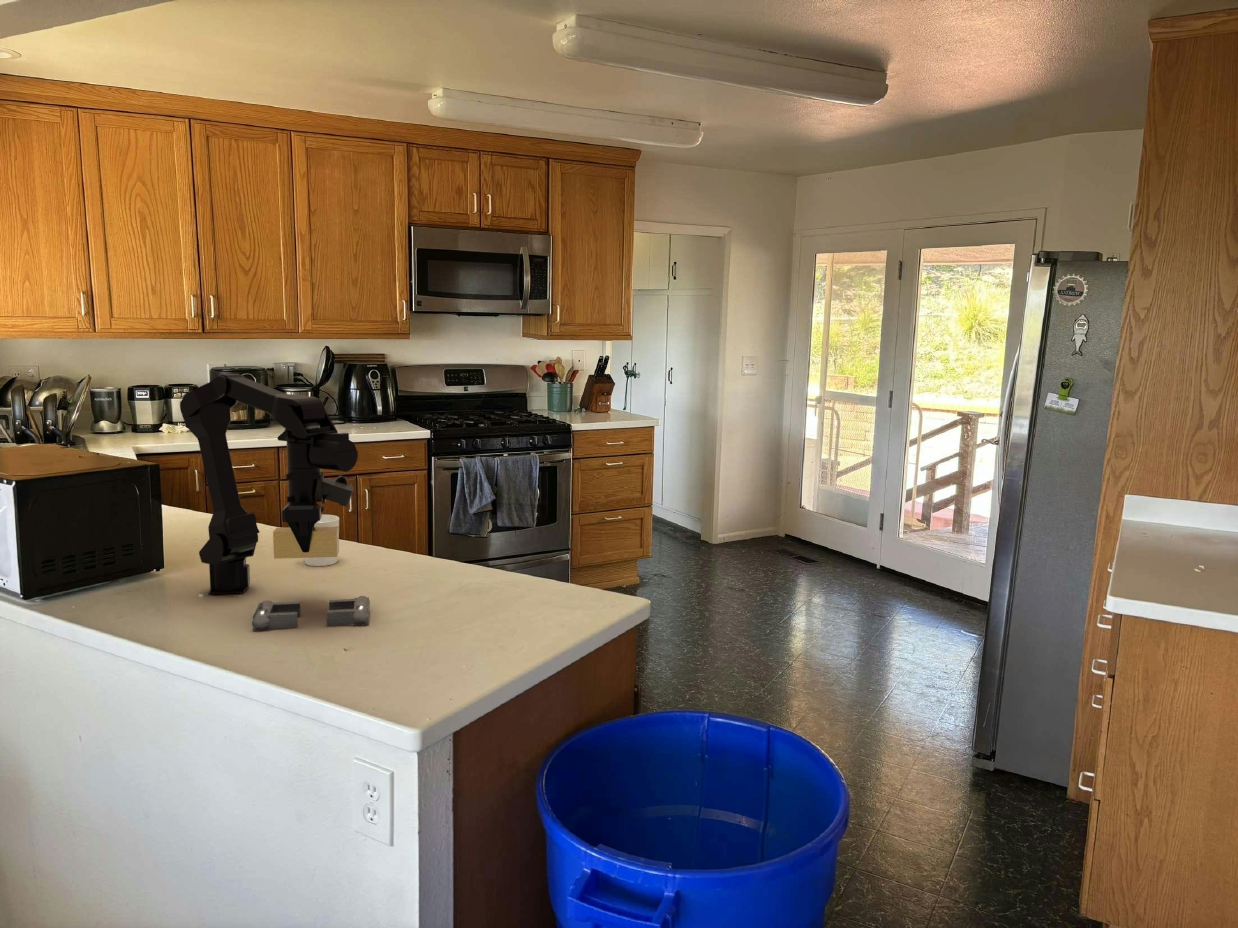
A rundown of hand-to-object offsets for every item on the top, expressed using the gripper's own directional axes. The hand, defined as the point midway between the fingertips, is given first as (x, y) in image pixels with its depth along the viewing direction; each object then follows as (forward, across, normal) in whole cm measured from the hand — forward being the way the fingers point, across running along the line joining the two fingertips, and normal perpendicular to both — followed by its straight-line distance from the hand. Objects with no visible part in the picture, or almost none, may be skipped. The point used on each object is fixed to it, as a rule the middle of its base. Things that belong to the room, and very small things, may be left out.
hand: (306, 549), depth 160 cm
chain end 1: (+11, -8, +4) cm, 14 cm away
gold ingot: (+1, 0, 0) cm, 1 cm away
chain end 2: (+11, -8, -7) cm, 15 cm away
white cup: (+11, +32, 0) cm, 33 cm away
